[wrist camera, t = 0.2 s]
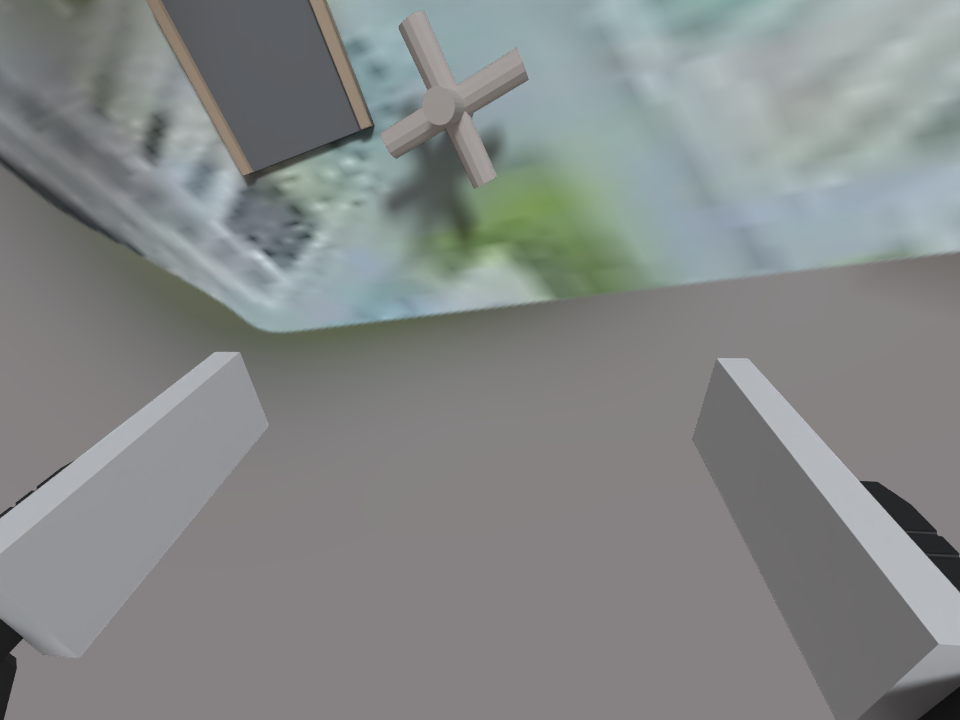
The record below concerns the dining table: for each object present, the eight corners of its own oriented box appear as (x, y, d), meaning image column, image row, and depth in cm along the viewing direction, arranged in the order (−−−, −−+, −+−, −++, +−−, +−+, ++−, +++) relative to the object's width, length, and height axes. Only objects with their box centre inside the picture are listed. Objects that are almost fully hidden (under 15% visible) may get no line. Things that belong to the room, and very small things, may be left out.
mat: (154, -1, 29) (143, -5, 28) (296, -79, 26) (288, -85, 26) (249, 174, 35) (242, 175, 34) (374, 125, 32) (370, 125, 31)
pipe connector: (438, 200, 35) (409, 229, 26) (371, 73, 30) (312, 57, 22) (549, 141, 32) (558, 151, 23) (492, -11, 27) (478, -67, 19)
